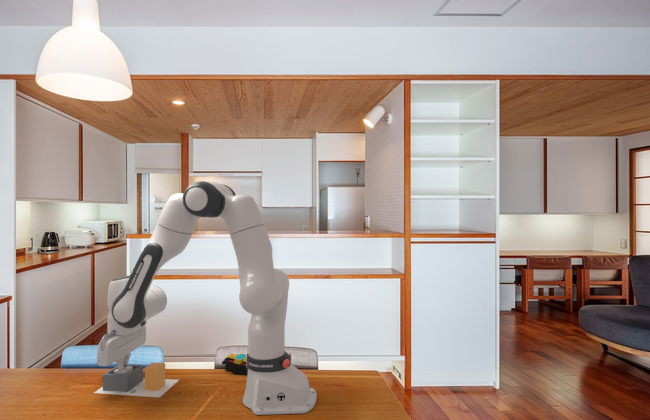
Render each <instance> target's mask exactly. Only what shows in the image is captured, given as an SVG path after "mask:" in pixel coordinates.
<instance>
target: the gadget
mask: <svg viewBox="0 0 650 420" xmlns="http://www.w3.org/2000/svg"><path fill="white" fill-rule="evenodd" d="M246 358H247V353H243V352H242V353H239V354H236V353H232V352H231V353H229V355H227V356H226V357H225V358H224V359H223V360H222V361H221V364H222V365H223V366H224V365H225V366H224V370H225V371H229V372H231V373H233V372H236V374H241V375H245V374H247V373H248V372H247V368H246Z"/></svg>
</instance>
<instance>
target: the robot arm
mask: <svg viewBox="0 0 650 420" xmlns="http://www.w3.org/2000/svg"><path fill="white" fill-rule="evenodd" d="M201 218H210V219H213V218H214V219H215V218H221V219H222V220H223V221H224V222H225V224H226V227H227V230H228V233H229V236H230V239H231V243H232V247H233V250H234V254H235V256H236V261H237V266H238V267H237V268H238V276H239V284H240V285H239V287H240V288H239V289H240V290H239V295H238V296H239V300H238V301H239V303H240V306H241V307H242V309H243V310H244V311H245V312H247V313H248V314H251V315H250V322H249V324H248V328H247V329H248V330H247V351H248V352H247V353H246V357H247V358H246V368H247V372H248V373H247V375H246V384H245V391H244V393H243V394H244V395H243V397H242V404H243V405H244V406H245V407H247V408H249V409H250V410H251V411H252V413H253V414H254V415H259V416H260V415H261V416H262V415H263V416H264V415H287V414H288V415H290V414H307V413H308V412H310V411H311V410H312V409H313V408H314V407H315V405H316V403H317V399H318V396H317V391H316V390H315V388H313V387H310V382H309V378H308V377H307V375H306V374H305V373H304V372H302V371H301V370H300V369H298V367H296V366H294V365H293V364H292V352H289V353H288V352H287V351H286V350H285V347H286V346H285V329H286V328H285V327H286V317H287V311H288V310H287V309H288V301H289V298H288V297H289V291H290V290H289V289H290V278H289V277H288V275H287V273H286V272H284V271H282V270H280V269H278V268H277V269H276V268H274V260H273V259H274V258H273V247H272V243H271V239H270V236H269V233H268V229H267V226H266V224H265V221H264V218H263V215H262V212H261V210H260V208H259V207H258V204H257V203H256V201H255V199H254V198H253V197H252V196H251V195H250V194H249V195H248V194H246V193H245V194H244V193H243V194H242V193H240V194H236V193H235V191H234V190H233V188H232V187H229V186H228V185H226V184H223V183H221V184H220V183H218V182H215V181H203V180H201V181H196V182H192V183H190V185H188V186H187V187H186V188H185V189H184V191H183V192H177V193H174V194H172V195H171V196H170V197H169V198H168V200H166V203H165V204H164V206H163V208H162V209H161V212H160V215H159V217H158V219H157V221H156V222H157V223H156V224H155V228H154V229H153V232H152V234H151V236H150V238H149V240H148V242H147V244H146V245H145V247H144V248H143V250H142V252H141V253H140V255H139V257H138V259H137V261H136V263H135V266H134V267H133V269H132V272H131V274H130V275H125V276H121V277H116V278H114V279H112V280H111V281H110V282H109V285H108V288H107V289H108V290H107V308H108V314H107V323H106V324H107V326H106V327H107V328H106V329H107V330H106V331H107V333H105V334H104V335H102V338H101V339H100V340H99V342H98V346H97V353H96V364H97V365H98V366H100V367H107V366H108V367H109V366H111V365H112V364H113V363H116V366H117V365H118V370H123V369H125V368H126V367H128V365H129V360H130V358H131V356H132V352H134V351H135V350H137V349H139V348H141V347H142V346H144V345H145V343H146V340H147V327H146V325H147V321H148V320H149V319H151V318H153V317H155V316H157V315H159V314H160V313H162V312H163V311H164V310H165V309H166V307H167V303H168V299H167V294H166V293H165V291H164V290H163V289H162V288H161V287H159V286H156V285H155V286H153V285H152V283H153V281H154V278H155V276H156V274H157V273H158V272H159V270H160V269H161V268H162V266H164V265H165V264H166V263H168V262H169V261H170V260H171V259H173V258H175V257H177V256H178V255H180V254H181V253H183V252H185V251H184V250H185V249H186V248H187V246H188V244H189V243H190V240H191V238H192V235H193V233H194V230H195V227H196V225H197V222H198V221H199V219H201Z"/></svg>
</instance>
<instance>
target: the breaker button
mask: <svg viewBox="0 0 650 420" xmlns="http://www.w3.org/2000/svg"><path fill="white" fill-rule="evenodd" d="M132 370H133V367H132V366H128V367H126V368H125V369H123V370H118V369H116V370H114V374H124V375H127V374H128V373H130V372H131V371H132Z"/></svg>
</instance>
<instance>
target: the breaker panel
mask: <svg viewBox="0 0 650 420" xmlns="http://www.w3.org/2000/svg"><path fill="white" fill-rule="evenodd" d="M128 366H132V367H133V370H132V371H131V372H130V373H128V374H127V375H124V374H114V370H116V369H118V365H117V364H116V366H115V367H113V368H111V369H109V370H108V371H106V372H105V373H103V374H102V386H101V387H100V388H99V389H97V390H96V391H94V392H93V394H100V395H101V394H105V395H116V396H117V395H119V396H120V395H121V396H135V397H148V398H161V397H162V396H164V394H165V393H166V392H168V390H170V389H171V388H172V387H173V386H175V385H176V384H177V383H178V382H179V380H180V379H171V378H165V385H164V386H163V387H162V388H161V389H159V390H158V391H152V390H145V377H144V365H141V364H128Z"/></svg>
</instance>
